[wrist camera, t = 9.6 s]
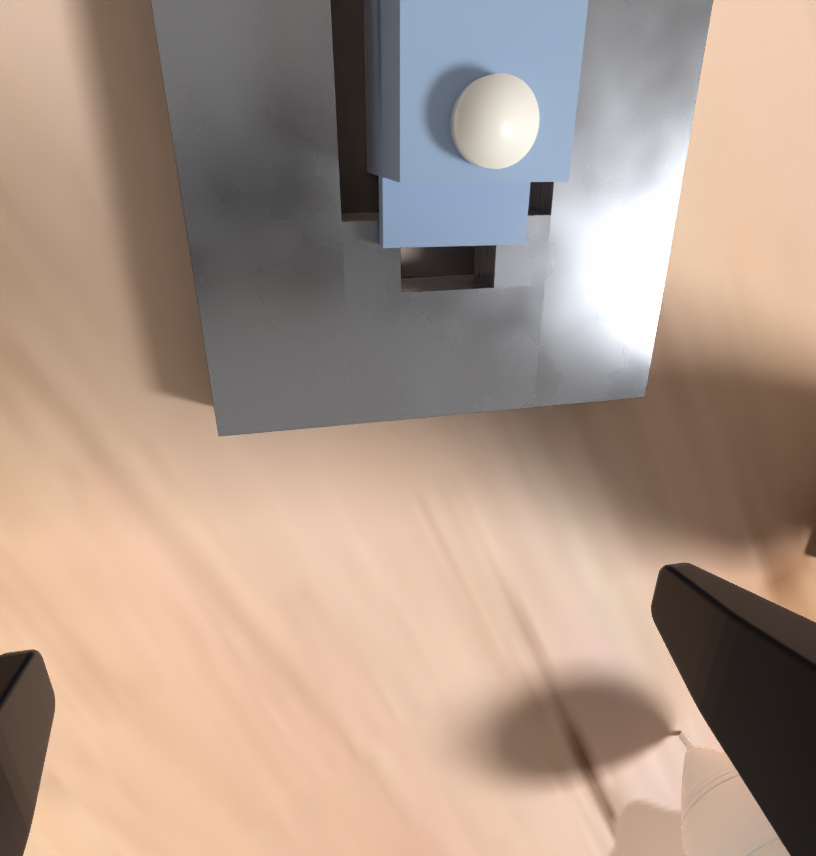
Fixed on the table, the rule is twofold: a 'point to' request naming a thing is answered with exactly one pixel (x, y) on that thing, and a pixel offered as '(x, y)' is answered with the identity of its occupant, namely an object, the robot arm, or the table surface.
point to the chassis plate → (381, 267)
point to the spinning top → (721, 809)
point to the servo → (468, 113)
